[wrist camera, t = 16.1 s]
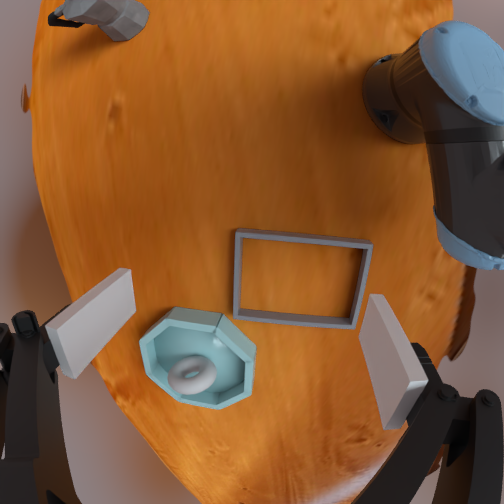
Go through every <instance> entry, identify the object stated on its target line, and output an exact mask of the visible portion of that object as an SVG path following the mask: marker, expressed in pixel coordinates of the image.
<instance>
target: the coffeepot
mask: <svg viewBox="0 0 504 504" xmlns="http://www.w3.org/2000/svg"><path fill="white" fill-rule="evenodd" d="M62 15H64V16H65V18H66V19H68V20H63V19H57V18H59V17H60V16H62ZM148 15H149V11H148V10H147V9H146V8H145V6H144V5H143V4H142V3H140V2H137V1H135V0H65V2H64V4H63V5H61V6H59V7H58V8H57V9H56V10H55V11H54V12H52V13H51V14H50V15H49V16H48V24H49V26H61V27H75V28H78V27H80V26H82V25H83V24H85V23H86V24H91V25H95V24H97V25H98V26H99V28H100V29H102V30H103V31H104V32H105V33H106V34H107V35H108V36H109V37H110V38H111V39H112V40H113V41H125V40H130V39H131V38H133V37H134V36H135V35H137V34H138V33H139V32H140V31H141V30H142V29H143V28H144V27H145V25H146V23H147V20H148ZM72 20H73V21H72ZM74 21H77V22H74Z"/></svg>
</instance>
